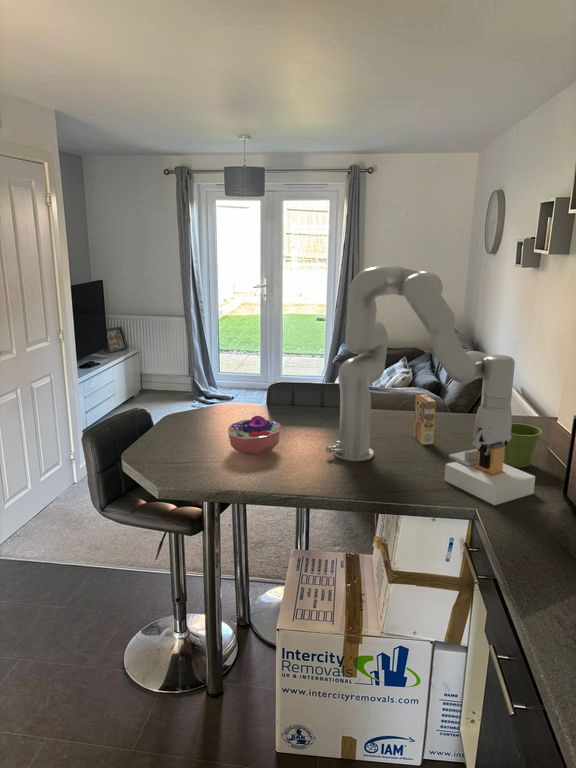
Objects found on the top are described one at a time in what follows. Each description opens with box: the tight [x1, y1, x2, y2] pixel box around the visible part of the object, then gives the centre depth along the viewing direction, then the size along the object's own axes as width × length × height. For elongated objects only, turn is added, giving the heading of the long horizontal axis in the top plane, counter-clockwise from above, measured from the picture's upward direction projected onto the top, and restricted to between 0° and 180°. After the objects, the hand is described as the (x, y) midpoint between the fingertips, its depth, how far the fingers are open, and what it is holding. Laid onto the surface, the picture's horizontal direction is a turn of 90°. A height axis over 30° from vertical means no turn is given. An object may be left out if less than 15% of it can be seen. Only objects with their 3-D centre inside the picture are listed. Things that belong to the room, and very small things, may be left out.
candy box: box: [413, 394, 437, 446], centre depth 192 cm, size 9×4×15 cm, turn 8°
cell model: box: [227, 415, 281, 457], centre depth 181 cm, size 17×20×11 cm
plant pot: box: [504, 422, 543, 469], centre depth 172 cm, size 12×12×11 cm
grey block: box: [448, 448, 479, 466], centre depth 162 cm, size 7×8×4 cm
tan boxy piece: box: [478, 442, 505, 476], centre depth 155 cm, size 4×5×9 cm
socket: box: [444, 461, 536, 506], centre depth 156 cm, size 15×18×5 cm
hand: (490, 465), depth 155 cm, fingers closed on tan boxy piece, 4 cm apart
